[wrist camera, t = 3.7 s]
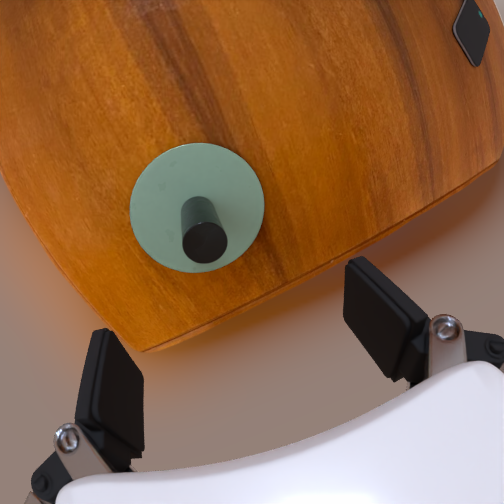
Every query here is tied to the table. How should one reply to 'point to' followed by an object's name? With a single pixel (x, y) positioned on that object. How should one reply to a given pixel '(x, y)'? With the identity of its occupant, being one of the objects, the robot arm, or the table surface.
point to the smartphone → (472, 31)
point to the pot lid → (196, 207)
